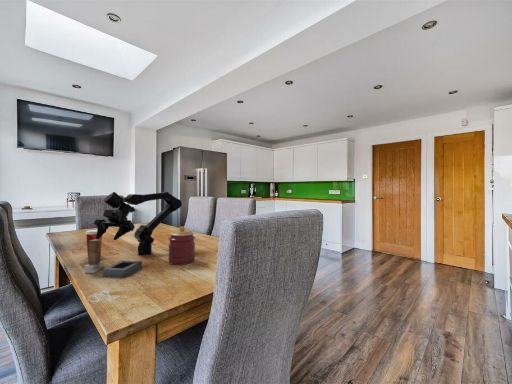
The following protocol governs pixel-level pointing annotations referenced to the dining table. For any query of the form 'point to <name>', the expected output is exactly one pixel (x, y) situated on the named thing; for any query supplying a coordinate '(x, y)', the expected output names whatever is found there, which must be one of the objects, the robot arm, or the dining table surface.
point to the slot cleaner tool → (94, 257)
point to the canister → (181, 247)
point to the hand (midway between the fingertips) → (105, 239)
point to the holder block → (122, 269)
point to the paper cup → (91, 236)
